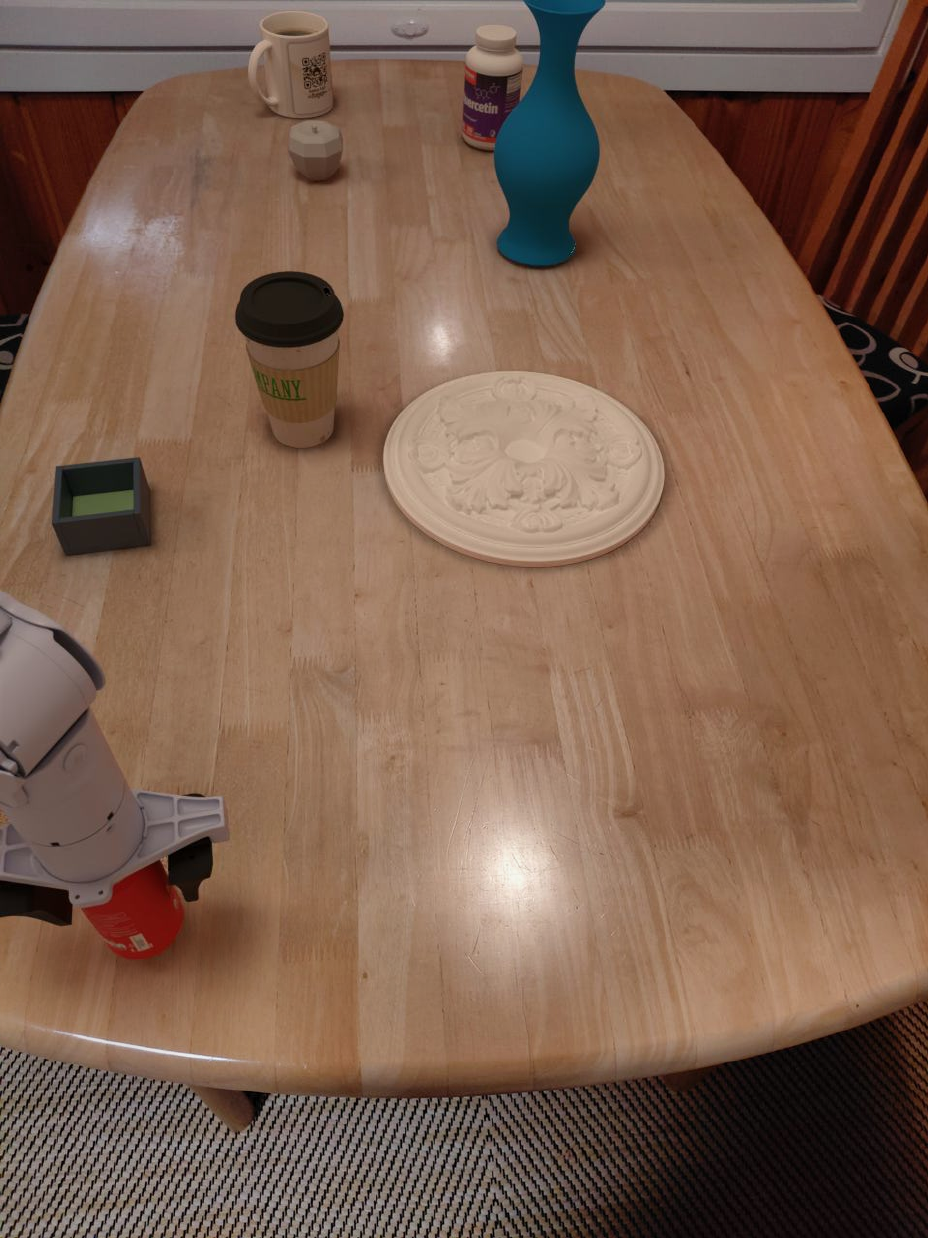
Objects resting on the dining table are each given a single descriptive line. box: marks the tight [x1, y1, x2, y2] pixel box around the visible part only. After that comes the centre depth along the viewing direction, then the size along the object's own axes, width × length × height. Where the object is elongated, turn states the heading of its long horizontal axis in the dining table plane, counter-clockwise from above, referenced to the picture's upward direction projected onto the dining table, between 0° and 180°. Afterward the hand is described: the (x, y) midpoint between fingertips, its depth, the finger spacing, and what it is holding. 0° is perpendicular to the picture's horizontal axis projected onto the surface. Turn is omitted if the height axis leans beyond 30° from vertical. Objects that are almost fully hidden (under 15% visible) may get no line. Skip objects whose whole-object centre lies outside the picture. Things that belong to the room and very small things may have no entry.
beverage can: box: [67, 859, 184, 961], centre depth 58 cm, size 5×5×12 cm
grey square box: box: [51, 456, 152, 556], centre depth 84 cm, size 7×7×4 cm
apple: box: [287, 119, 344, 181], centre depth 126 cm, size 8×8×7 cm
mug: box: [247, 10, 334, 119], centre depth 137 cm, size 10×12×11 cm
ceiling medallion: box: [382, 370, 666, 568], centre depth 92 cm, size 28×28×3 cm
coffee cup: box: [234, 270, 345, 449], centre depth 89 cm, size 10×10×15 cm
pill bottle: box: [461, 23, 524, 152], centre depth 132 cm, size 8×8×14 cm
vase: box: [493, 0, 607, 268], centre depth 108 cm, size 12×13×28 cm
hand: (130, 898), depth 59 cm, fingers open, 7 cm apart
